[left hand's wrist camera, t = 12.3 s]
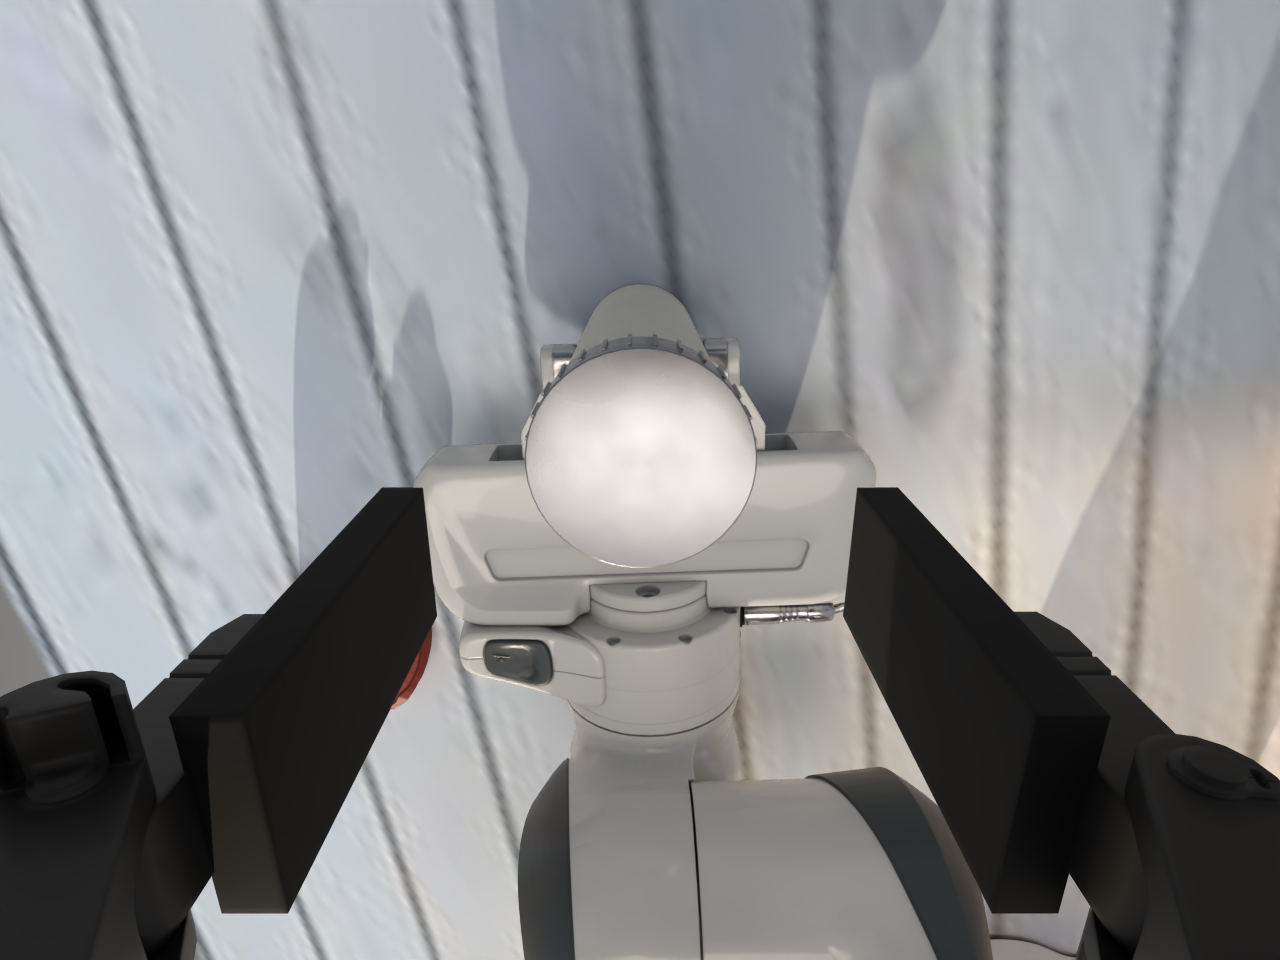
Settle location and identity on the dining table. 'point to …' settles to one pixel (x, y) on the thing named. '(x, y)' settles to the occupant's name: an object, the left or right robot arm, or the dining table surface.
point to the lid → (640, 452)
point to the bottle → (640, 318)
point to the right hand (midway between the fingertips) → (638, 342)
